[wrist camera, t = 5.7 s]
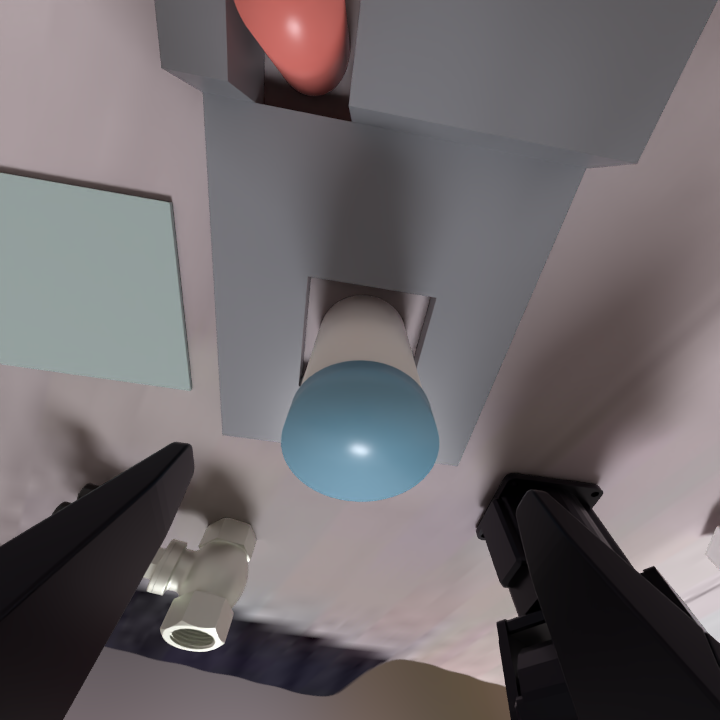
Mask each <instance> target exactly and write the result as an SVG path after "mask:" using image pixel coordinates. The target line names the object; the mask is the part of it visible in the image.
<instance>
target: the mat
mask: <svg viewBox="0 0 720 720" xmlns="http://www.w3.org/2000/svg"><path fill="white" fill-rule="evenodd" d="M0 364H3V365H10V366H17V367H25V368H32V369H39V370H46V371H53V372H60V373H67V374H74V375H81V376H89V377H96V378H103V379H110V380H117V381H124V382H131V383H138V384H145V385H152V386H160V387H167V388H174V389H181V390H188V391H191V390H192V383H191V374H190V364H189V355H188V346H187V336H186V327H185V318H184V309H183V299H182V290H181V281H180V271H179V262H178V253H177V244H176V234H175V225H174V216H173V206H172V202H167V201H161V200H155V199H150V198H144V197H138V196H132V195H127V194H121V193H115V192H110V191H104V190H98V189H93V188H87V187H81V186H76V185H70V184H64V183H59V182H53V181H47V180H42V179H36V178H30V177H25V176H19V175H13V174H7V173H2V172H0Z"/></svg>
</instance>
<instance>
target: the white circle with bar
mask: <svg viewBox="0 0 720 720" xmlns="http://www.w3.org/2000/svg"><path fill="white" fill-rule="evenodd" d="M705 555H706V556H707V557H708V559H709V560H710V561H711V562H712V563H713V564H714V565H715V566H716V567H717V568H718V569H719V570H720V526H717V527H716V530H715V532H714V534H713V536H712V538H711V541H710V543H709V545H708V547H707V550H706V552H705Z"/></svg>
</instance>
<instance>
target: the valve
mask: <svg viewBox="0 0 720 720" xmlns="http://www.w3.org/2000/svg"><path fill="white" fill-rule="evenodd" d="M98 487H99V486H98V485H95V484H92V483H88V484H87V485H85V486H84V487H83V488H82V490H81V491H80V493H79V494H78V497H77V500H78V499H80V498H81V497H83V496H85V495H86V494H88V493H90V492H91V491H93V490H95V489H96V488H98ZM70 504H71V503H69V502H63V503H61V504H60V505H59V506H58V507H57V508H56V509H55V511H54V512H53V514H55V513H56V512H58V511H60V510H61V509H63V508H65V507H66V506H68V505H70ZM53 514H52V515H53ZM255 544H256V537H255V534H254V531H253V529H252V526H251V525H249V524H248V523H244V522H241V521H238V520H234V519H231V518H223V519H221V520H219V521H217V522H215V523H213V524H211V525H209V526H208V527H207V529H206V531H205V534H204V536H203V538H202V540H201V542H200V544H199V548H200V550H198V551H193V550H189V549H187V548H186V547H187V543H186V542H183V541H179V540H175V539H173V540H172V541H171V542H170V543H169V545H168V546H167V548H166V549H165V548H161V547H160V548H159V550H158V552H157V553H156V555H155V557H154V559H153V560H152V562H151V564H150V566H149V568H148V569H147V571H146V573H145V575H144V576H143V578H147V579H150V582H149V584H148V587H147V592H151V593H155V594H159V595H163V594H164V593H165V591H166V590H172V591H176V592H177V593H178V594H179V597H178V598H175V599H174V600H173V602H172V604H171V606H170V608H169V610H168V612H167V615H166V617H165V619H164V621H163V623H162V625H161V627H160V631H161V634H162V636H163V638H164V639H165V641H167V642H168V643H169V644H171V645H173V646H175V647H177V648H180V649H184V650H188V651H199V652H201V651H210V650H213V649H216V648H218V647H219V646H221V645H222V644H224V643H225V640H226V637H227V634H228V630H229V627H230V624H231V621H232V618H233V614H234V613H233V611H232V608H233V607H234V605H235V604H236V603H237V601H238V600H239V598H240V597H241V595H242V593H243V591H244V589H245V586H246V582H247V578H248V561H250V560H251V557H252V553H253V550H254V547H255Z"/></svg>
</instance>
